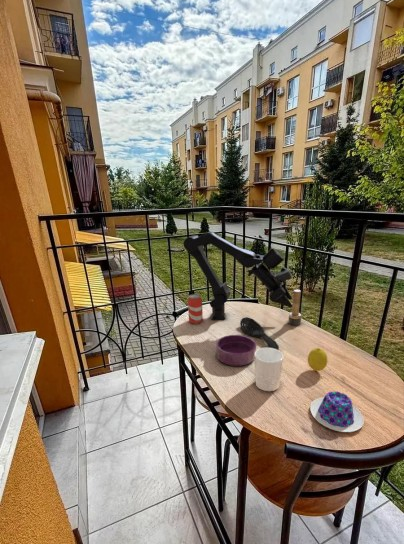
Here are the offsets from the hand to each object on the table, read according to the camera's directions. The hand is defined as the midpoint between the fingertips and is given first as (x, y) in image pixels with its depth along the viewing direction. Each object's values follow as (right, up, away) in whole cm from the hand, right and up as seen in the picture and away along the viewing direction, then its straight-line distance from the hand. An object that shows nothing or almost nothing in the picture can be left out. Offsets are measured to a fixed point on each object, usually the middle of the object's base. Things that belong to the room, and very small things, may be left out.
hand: (291, 302), depth 117 cm
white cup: (-18, -24, -35) cm, 46 cm away
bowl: (-26, -19, -20) cm, 38 cm away
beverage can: (-40, -9, +8) cm, 42 cm away
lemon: (-2, -21, -30) cm, 37 cm away
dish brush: (+2, -9, +3) cm, 9 cm away
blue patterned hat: (-4, -28, -47) cm, 55 cm away
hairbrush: (-15, -13, -7) cm, 21 cm away
